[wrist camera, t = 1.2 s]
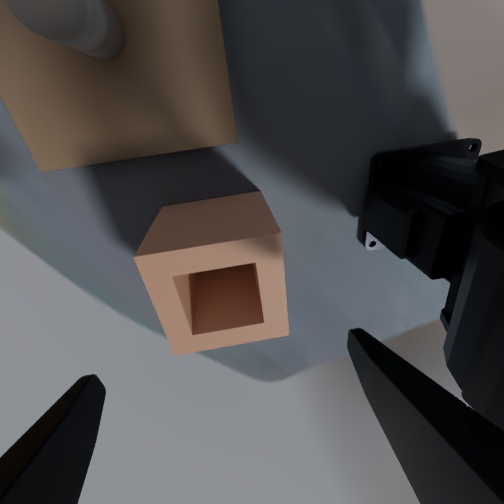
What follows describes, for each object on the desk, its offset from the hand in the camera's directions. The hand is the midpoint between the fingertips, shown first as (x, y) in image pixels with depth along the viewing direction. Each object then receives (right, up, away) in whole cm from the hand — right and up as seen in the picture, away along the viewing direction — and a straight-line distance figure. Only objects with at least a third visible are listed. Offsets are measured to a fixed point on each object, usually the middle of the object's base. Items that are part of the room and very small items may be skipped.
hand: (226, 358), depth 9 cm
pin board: (-5, +13, +2) cm, 15 cm away
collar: (-1, +4, +8) cm, 9 cm away
